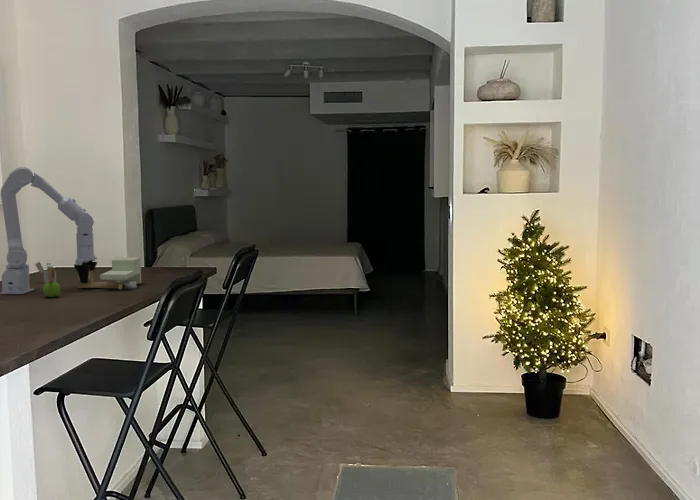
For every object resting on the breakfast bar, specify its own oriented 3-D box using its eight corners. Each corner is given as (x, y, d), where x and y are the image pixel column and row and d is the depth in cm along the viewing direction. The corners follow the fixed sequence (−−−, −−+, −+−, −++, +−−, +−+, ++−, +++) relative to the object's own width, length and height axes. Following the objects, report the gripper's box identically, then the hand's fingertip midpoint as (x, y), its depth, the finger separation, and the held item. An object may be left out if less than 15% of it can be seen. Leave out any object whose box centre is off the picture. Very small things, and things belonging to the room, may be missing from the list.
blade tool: (121, 289, 232) (121, 273, 232) (76, 288, 231) (76, 271, 231) (127, 286, 239) (127, 270, 239) (83, 285, 238) (83, 269, 238)
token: (134, 289, 234) (134, 282, 233) (122, 289, 234) (122, 282, 233) (138, 287, 238) (138, 280, 238) (126, 287, 238) (126, 280, 238)
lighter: (56, 281, 249) (55, 261, 249) (55, 282, 248) (54, 262, 247) (37, 282, 248) (36, 261, 247) (35, 282, 246) (34, 262, 246)
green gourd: (41, 299, 211) (39, 263, 210) (44, 296, 217) (43, 261, 216) (58, 298, 213) (57, 263, 211) (62, 295, 219) (60, 260, 218)
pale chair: (126, 291, 229) (125, 263, 228) (100, 291, 228) (100, 263, 228) (141, 282, 248) (140, 257, 247) (117, 282, 248) (117, 257, 247)
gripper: (89, 247, 227) (90, 285, 228) (102, 243, 241) (103, 279, 242) (69, 247, 226) (70, 285, 227) (83, 243, 241) (85, 279, 242)
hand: (86, 282), depth 235 cm, fingers closed on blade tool, 4 cm apart
